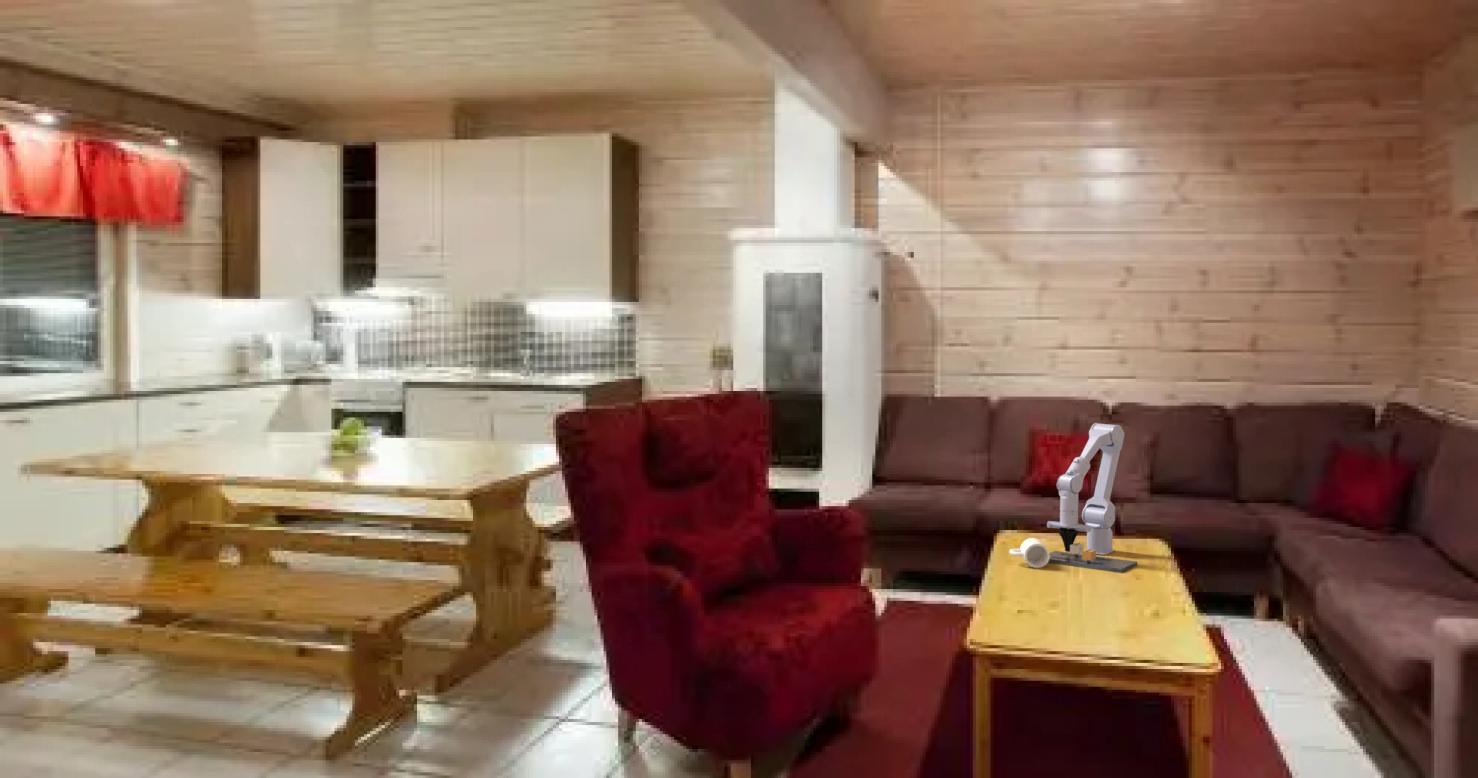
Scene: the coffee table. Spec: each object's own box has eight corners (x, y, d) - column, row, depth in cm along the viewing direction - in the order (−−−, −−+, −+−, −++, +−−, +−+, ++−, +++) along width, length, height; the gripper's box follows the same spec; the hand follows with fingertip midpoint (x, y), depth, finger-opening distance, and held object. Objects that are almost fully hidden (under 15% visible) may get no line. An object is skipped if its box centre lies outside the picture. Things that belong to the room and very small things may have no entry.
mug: (1044, 562, 375) (1044, 538, 374) (1049, 568, 365) (1050, 543, 364) (1007, 561, 376) (1007, 537, 375) (1011, 567, 366) (1011, 543, 365)
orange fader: (1086, 559, 371) (1086, 548, 370) (1095, 560, 369) (1095, 549, 368) (1081, 561, 367) (1081, 550, 367) (1090, 562, 366) (1091, 551, 365)
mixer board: (1055, 554, 387) (1055, 550, 386) (1137, 565, 369) (1137, 561, 369) (1037, 561, 375) (1037, 557, 375) (1120, 572, 358) (1121, 568, 358)
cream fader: (1074, 553, 380) (1075, 542, 380) (1083, 554, 379) (1083, 543, 378) (1069, 555, 377) (1070, 544, 377) (1078, 556, 375) (1078, 545, 375)
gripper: (1043, 510, 380) (1042, 550, 381) (1085, 514, 371) (1084, 555, 372) (1052, 507, 386) (1051, 547, 387) (1093, 511, 377) (1093, 552, 377)
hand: (1068, 551), depth 380 cm, fingers closed
